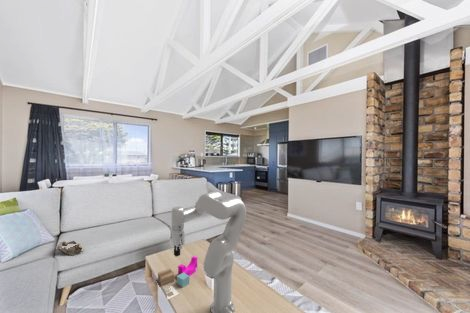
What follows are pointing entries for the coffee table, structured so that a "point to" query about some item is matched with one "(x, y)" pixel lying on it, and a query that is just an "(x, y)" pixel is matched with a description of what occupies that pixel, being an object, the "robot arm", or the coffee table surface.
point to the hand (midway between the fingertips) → (177, 255)
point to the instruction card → (171, 292)
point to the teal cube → (183, 279)
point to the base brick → (165, 277)
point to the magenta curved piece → (188, 267)
